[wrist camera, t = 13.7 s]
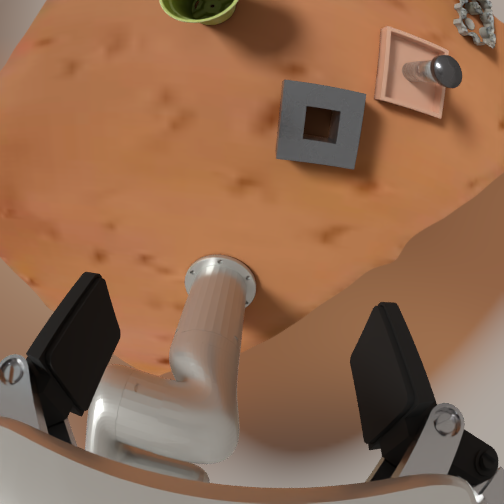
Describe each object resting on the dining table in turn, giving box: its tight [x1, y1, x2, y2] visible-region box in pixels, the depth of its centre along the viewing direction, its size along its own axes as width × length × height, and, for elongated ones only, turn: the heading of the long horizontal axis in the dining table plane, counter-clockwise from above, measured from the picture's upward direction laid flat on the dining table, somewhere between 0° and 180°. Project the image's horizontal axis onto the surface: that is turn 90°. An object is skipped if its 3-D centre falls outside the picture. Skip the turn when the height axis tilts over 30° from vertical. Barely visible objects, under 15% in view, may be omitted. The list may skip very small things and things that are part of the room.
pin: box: [402, 55, 462, 88], centre depth 25 cm, size 4×4×10 cm
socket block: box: [276, 80, 366, 169], centre depth 33 cm, size 10×10×5 cm
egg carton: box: [453, 0, 496, 48], centre depth 20 cm, size 11×8×4 cm
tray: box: [374, 26, 449, 119], centre depth 29 cm, size 11×10×2 cm
